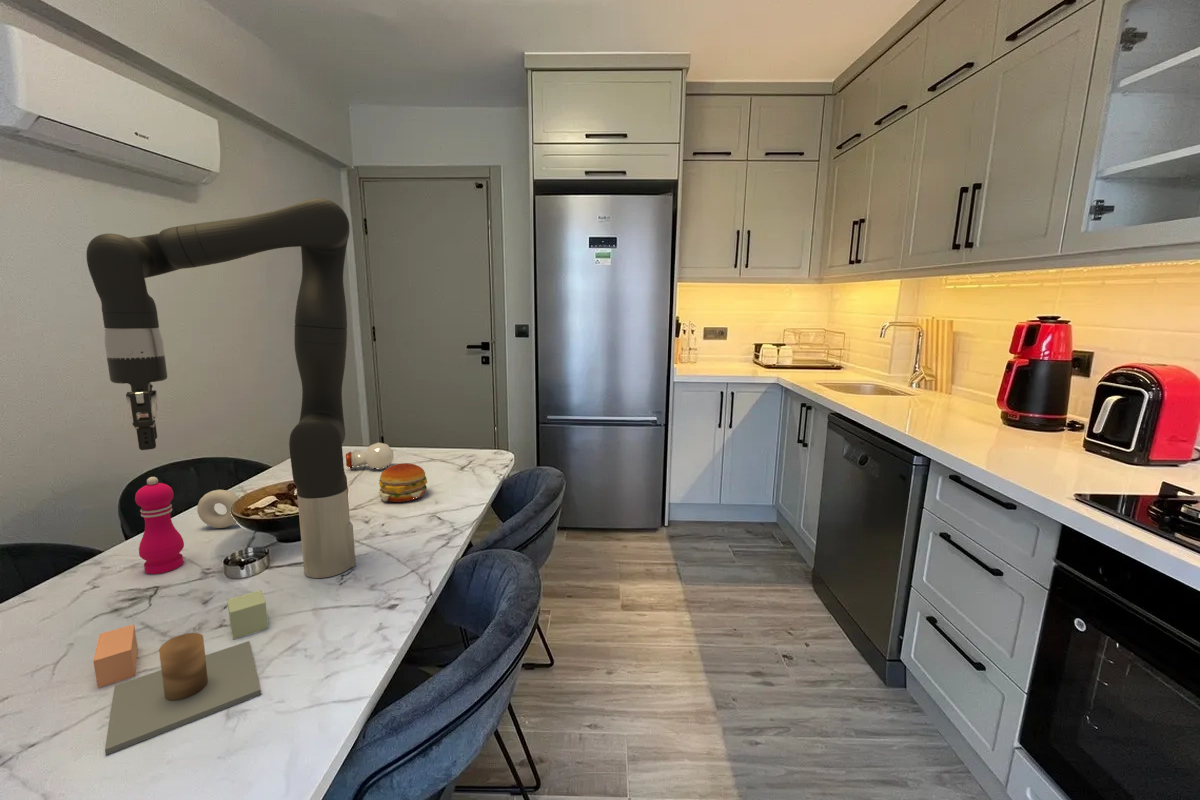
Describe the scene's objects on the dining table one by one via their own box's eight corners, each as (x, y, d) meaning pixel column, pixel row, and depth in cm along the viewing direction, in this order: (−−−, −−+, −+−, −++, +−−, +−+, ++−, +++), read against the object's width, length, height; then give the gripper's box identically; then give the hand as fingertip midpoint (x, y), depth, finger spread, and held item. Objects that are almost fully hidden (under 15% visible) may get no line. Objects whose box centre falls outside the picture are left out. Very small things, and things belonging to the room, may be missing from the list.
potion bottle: (395, 473, 176) (351, 479, 175) (399, 451, 183) (357, 457, 182) (386, 457, 169) (341, 463, 168) (391, 435, 176) (347, 440, 175)
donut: (196, 531, 125) (191, 493, 123) (205, 525, 128) (200, 488, 126) (240, 529, 126) (236, 491, 125) (247, 524, 130) (243, 486, 128)
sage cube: (264, 615, 91) (261, 589, 90) (268, 628, 87) (265, 602, 86) (230, 626, 88) (227, 599, 87) (233, 640, 84) (229, 612, 83)
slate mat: (249, 645, 83) (249, 640, 82) (261, 694, 72) (260, 689, 72) (115, 690, 72) (114, 685, 72) (105, 755, 62) (104, 749, 62)
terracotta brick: (103, 659, 79) (99, 633, 78) (138, 649, 82) (134, 624, 81) (97, 689, 73) (93, 661, 72) (135, 676, 75) (131, 649, 75)
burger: (437, 495, 152) (435, 463, 150) (398, 509, 141) (396, 474, 139) (408, 486, 159) (406, 456, 157) (369, 499, 148) (366, 466, 146)
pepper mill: (160, 577, 103) (147, 483, 100) (132, 573, 105) (118, 481, 101) (195, 560, 110) (183, 473, 107) (168, 557, 112) (156, 470, 108)
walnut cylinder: (206, 671, 75) (202, 628, 74) (209, 689, 72) (204, 645, 71) (164, 686, 72) (158, 641, 71) (164, 705, 69) (159, 659, 67)
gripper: (163, 356, 85) (176, 449, 88) (164, 351, 96) (175, 434, 99) (102, 358, 80) (117, 456, 83) (110, 352, 91) (123, 439, 94)
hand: (148, 444), depth 91 cm, fingers open, 8 cm apart
